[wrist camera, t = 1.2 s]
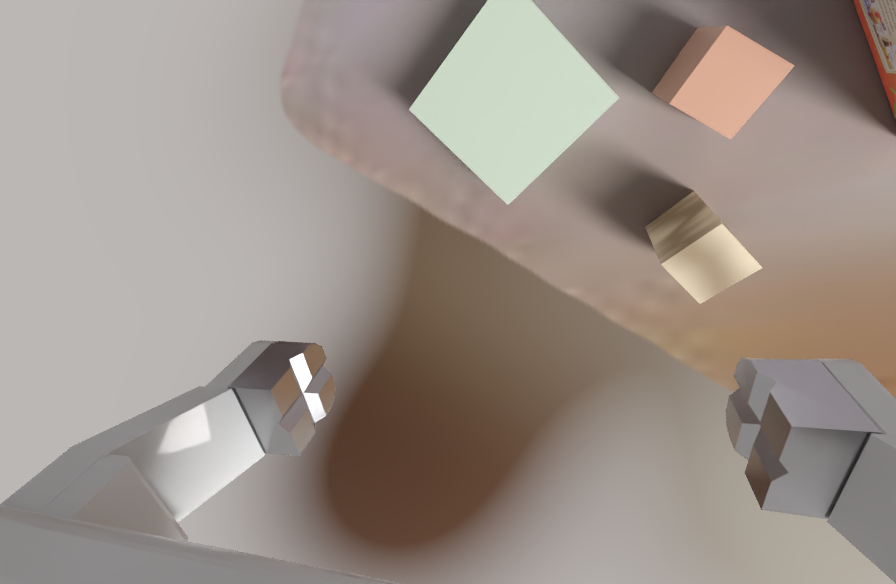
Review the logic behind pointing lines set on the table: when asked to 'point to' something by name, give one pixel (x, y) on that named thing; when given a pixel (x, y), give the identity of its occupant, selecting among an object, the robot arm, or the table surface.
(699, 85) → the terracotta block
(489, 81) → the sage pedestal block
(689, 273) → the beech block
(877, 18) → the cracker box
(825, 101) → the table surface
